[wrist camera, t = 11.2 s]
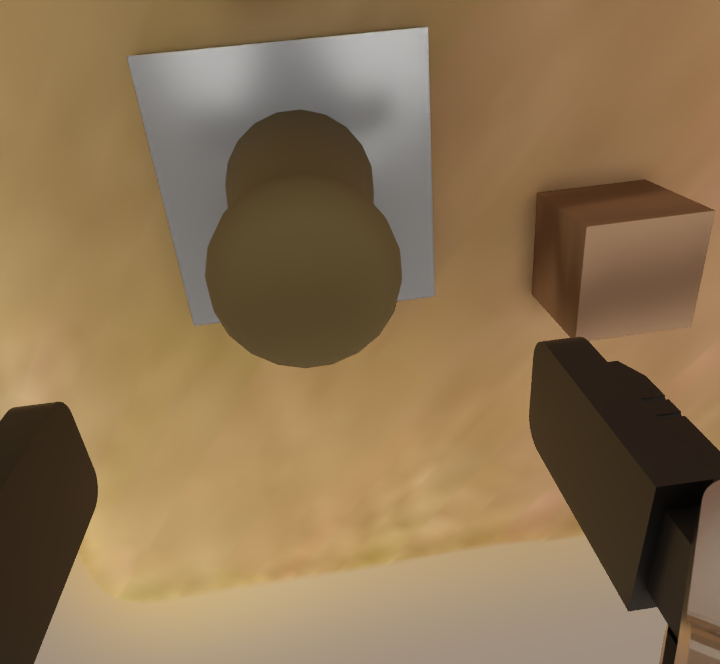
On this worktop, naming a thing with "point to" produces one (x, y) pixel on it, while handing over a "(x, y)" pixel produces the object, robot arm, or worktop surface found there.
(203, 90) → the slate tile
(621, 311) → the walnut block
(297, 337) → the brown rounded figure
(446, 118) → the worktop surface
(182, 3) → the worktop surface
